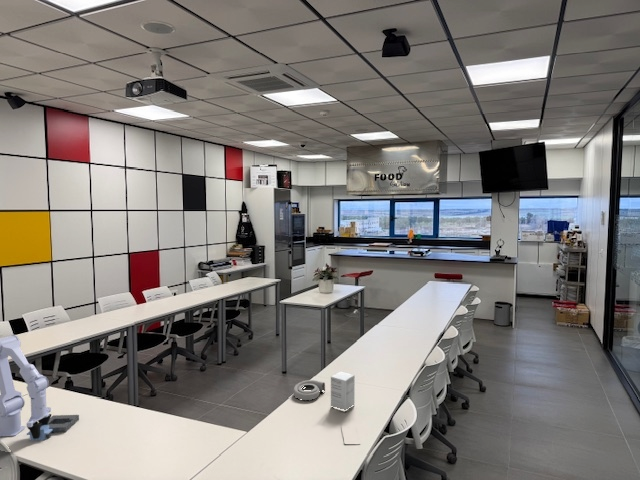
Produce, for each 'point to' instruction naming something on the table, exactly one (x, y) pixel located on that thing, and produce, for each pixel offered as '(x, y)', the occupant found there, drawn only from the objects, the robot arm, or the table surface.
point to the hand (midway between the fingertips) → (39, 434)
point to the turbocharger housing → (310, 385)
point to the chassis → (62, 423)
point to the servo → (42, 433)
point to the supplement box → (342, 390)
